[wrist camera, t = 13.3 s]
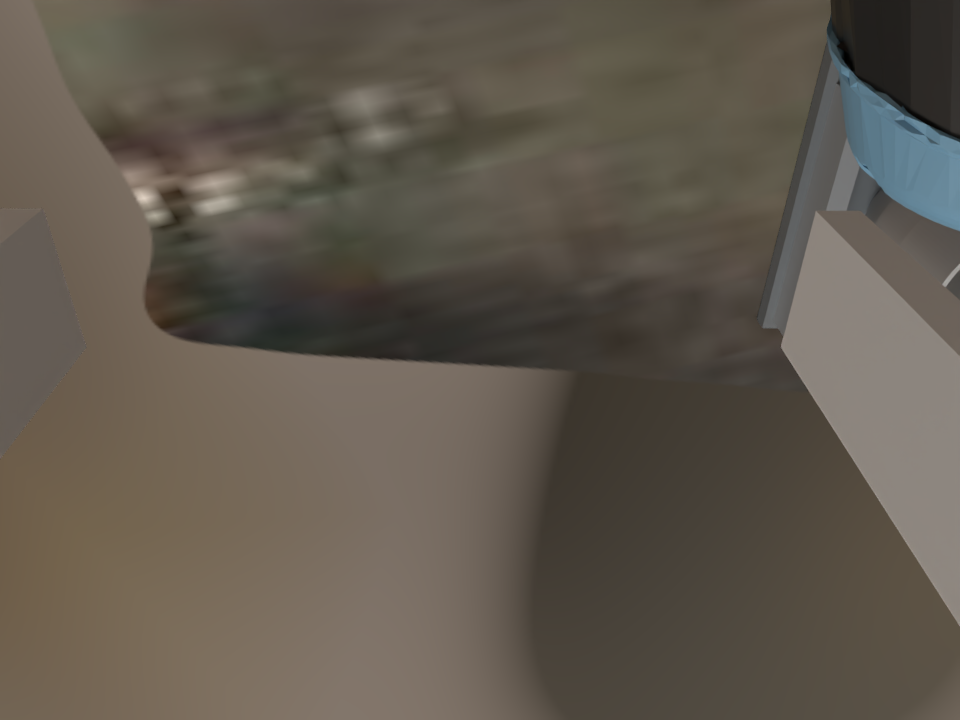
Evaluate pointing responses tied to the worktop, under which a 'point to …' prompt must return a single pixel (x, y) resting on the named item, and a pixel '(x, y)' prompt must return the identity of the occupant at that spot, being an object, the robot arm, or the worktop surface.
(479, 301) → the worktop surface
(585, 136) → the worktop surface
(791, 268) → the dish rack
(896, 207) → the cup
